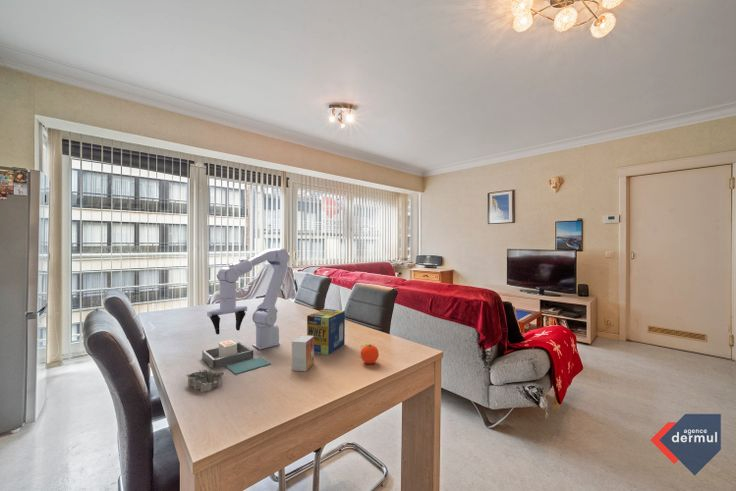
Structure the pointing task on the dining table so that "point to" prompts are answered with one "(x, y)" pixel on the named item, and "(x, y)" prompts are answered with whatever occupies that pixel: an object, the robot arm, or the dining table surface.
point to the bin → (227, 360)
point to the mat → (248, 365)
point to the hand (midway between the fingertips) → (227, 331)
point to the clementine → (369, 353)
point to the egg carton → (200, 380)
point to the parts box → (227, 348)
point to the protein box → (327, 330)
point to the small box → (302, 353)
